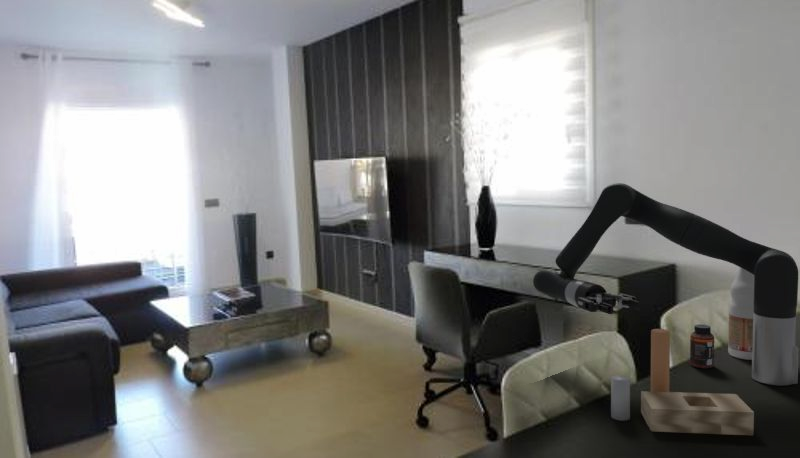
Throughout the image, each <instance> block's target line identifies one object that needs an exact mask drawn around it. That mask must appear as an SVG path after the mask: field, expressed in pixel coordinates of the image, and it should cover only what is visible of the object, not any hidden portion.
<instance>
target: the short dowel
mask: <svg viewBox="0 0 800 458" xmlns="http://www.w3.org/2000/svg"><path fill="white" fill-rule="evenodd" d="M610 416H611V418H612V419H613V420H617V421H621V422H623V421H628V420H630V419H631V378H630V377H628V376H626V375H621V374H618V375H617V374H615V375H612V376H611V377H610Z"/></svg>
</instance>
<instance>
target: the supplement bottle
mask: <svg viewBox="0 0 800 458" xmlns="http://www.w3.org/2000/svg"><path fill="white" fill-rule="evenodd" d="M693 327H694V329H693V330H694V331H693V332H691V333H690V337H689V338H690V339H689V364H690V365H691V366H693V367H695V368H698V369H711V368H713V367H714V364H715V335H714V334H713V333H712V332H711V325H707V324H701V323H700V324H694V326H693Z"/></svg>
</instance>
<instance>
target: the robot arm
mask: <svg viewBox="0 0 800 458" xmlns="http://www.w3.org/2000/svg"><path fill="white" fill-rule="evenodd" d="M621 217H624V218H627V219H628V220H629V219H630V220H632V221H635V222H637V223H640V224H643V225H645V226H647V227H648V228H651V229H652V230H653V231H655V232H656V233H658V234H659V235H660V236H662V237H664V238H665V239H666V240H668V241H670V242H672V243H674V244H676V245H678V246H680V247H682V248H684V249H686V250H688V251H691V252H693V253H695V254H699V255H702V256H705V257H707V258H711V259H716V260H721V261H723V262H727V263H729V264H732V265H734V266H737V267H739V268H740V267H741V268H743V269H744V270H746V271H748V272H750V273H752V274H753V275H754V309H753V349H752V360H751V378H752V379H753V380H755V381H756V382H759V383H762V384H765V385H772V386H790V385H797V384H798V381H799V379H798V378H799V377H798V375H799V353H800V352H799V350H800V349H799V347H798V346H797V345H796V330H797V329H796V324H797V308H798V296H799V295H798V291H799V269H798V265H797V263H796V261H795V259H794V258H793V256H791V255H790V254H789V253H787V252H785V251H783V250H779V249H776V248H773V247H769V246H767V245H764V244H760V243H757V242H756V241H751V240H749V239H747V238H744V237H742V236H740V235H738V234H737V233H735V232H732V231H731V230H730V229H727V228H725V227H723V226H722V225H719V224H718V223H716V222H713V221H711V220H709V219H706V218H704V217H702V216H700V215H698V214H695V213H694V212H689V211H687V210H685V209H682V208H679V207H676V206H672V205H669V204H666V203H663V202H660V201H657V200H656V199H653V198H651V197H649V196H648V195H645V194H644V193H642V192H641V191H638V190H637V189H635V188H633V187H632V186H630V185H629V184H626V183H619V182H615V183H611V184H609V185H607V186H605V187H604V188H603V190H602V191H601V193H600V195H599V196H598V199H597V200H596V203H595V205H594V206H593V208H592V210H591V211H590V213H589V215H588V216H587V218H586V220H585V221H584V222H583V224H582V225H581V226H580V228H578V229H577V231H576V232H575V234H574V235H573V236H572V237H571V238H570V240H569V241H568V242H567V243H566V245H565V246H564V247H563V249H562V250H561V251H560V253H558V255H557V257H556V258H555V261H554V262H555V264H556V266H557V267H558V268H559V270H560V273H558V272H555V271H553V270H550V269H547V268H546V269H541V270H539V271H537V272H536V273H535V275H534V276H533V279H532V281H533V282H532V283H533V286H534V288H535V290H536V291H538V292H539V293H541V294H544V295H545V296H548V297H550V298H552V299H554V300H561V301H563V302H565V303H569V304H571V305H572V306H574V307H577V308H579V309H582V310H583V311H584V310H585V311H587V312H590V313H598V312H601V313H605V314H607V315H613V314H614V309H617V310H618V309H619V310H621V309H622V308H626V309H627V308H628V309H631V310H634V311H636V312H640V311H641V310H642V302H640V301H637V297H636V296H634V295H630V294H625V293H622V292H619V293H617V294H615V293H611V292H607V291H606V289H605V287H603V285H601V284H598V283H594V282H590V281H587V280H582V279H577V278H575V277H576V275H577V272H578V270H579V269H580V268H581V267H582V265H584V263H585V262H586V260H587V259H588V258H589V257H590V255H591V254H592V252H593V251H594V249H595V247H596V246H597V244H598V243H599V242H600V240H601V239H602V236H603V235H604V234H605V233H606V231H607V230H608V229H609V228H610V227H611V226H612V225H613V224H614V223H615V222H617V221H618V220H619V219H620V218H621ZM617 303H618V305H617Z"/></svg>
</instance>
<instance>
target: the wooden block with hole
mask: <svg viewBox="0 0 800 458" xmlns="http://www.w3.org/2000/svg"><path fill="white" fill-rule="evenodd" d="M640 413H641V415H642V416H643V417H642V418H643V419H644V421H645V423H646V425H647V427H648V428H649V431H650V432H655V433H656V432H657V433H658V432H659V433H660V432H661V433H663V432H664V433H683V434H685V433H686V434H708V435H710V434H711V435H712V434H713V435H733V436H754V431H755V430H754V429H755V428H754V427H755V426H754V425H755V412H754V410H752V408H750V407H749V406H748V405H747V404H746V402H744V400H743V399H741V398H740V397H739V395H738V394H736V393H717V392H716V393H715V392H714V393H711V392H681V391H680V392H679V391H669V392H652V391H651V390H650V391H649V390H648V391H646V390H644V391H643V390H641V391H640Z"/></svg>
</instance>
